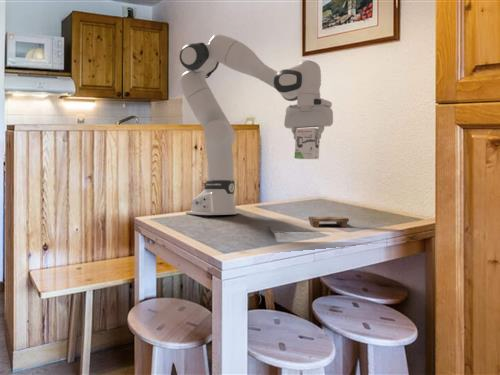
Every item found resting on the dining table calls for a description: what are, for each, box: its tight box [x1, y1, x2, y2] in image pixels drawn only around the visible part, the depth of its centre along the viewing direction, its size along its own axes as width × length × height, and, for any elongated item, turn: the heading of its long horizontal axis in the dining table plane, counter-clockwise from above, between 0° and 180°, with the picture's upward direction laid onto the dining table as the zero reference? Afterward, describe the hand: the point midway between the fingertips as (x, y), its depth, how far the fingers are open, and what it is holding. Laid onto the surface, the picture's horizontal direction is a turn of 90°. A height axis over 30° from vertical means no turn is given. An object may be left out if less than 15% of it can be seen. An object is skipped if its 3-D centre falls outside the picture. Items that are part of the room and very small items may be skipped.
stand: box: [308, 216, 350, 228], centre depth 164 cm, size 13×11×3 cm
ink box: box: [294, 127, 321, 160], centre depth 173 cm, size 9×5×12 cm, turn 52°
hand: (307, 139), depth 173 cm, fingers closed on ink box, 8 cm apart
